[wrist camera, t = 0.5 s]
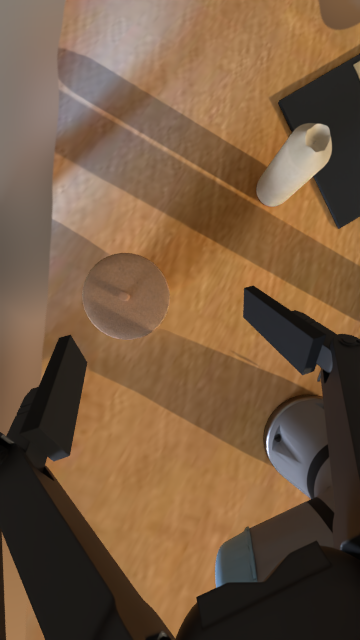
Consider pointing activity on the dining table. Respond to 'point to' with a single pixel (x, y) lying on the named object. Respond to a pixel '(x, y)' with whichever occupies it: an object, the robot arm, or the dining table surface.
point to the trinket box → (126, 296)
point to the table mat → (334, 134)
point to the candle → (295, 163)
